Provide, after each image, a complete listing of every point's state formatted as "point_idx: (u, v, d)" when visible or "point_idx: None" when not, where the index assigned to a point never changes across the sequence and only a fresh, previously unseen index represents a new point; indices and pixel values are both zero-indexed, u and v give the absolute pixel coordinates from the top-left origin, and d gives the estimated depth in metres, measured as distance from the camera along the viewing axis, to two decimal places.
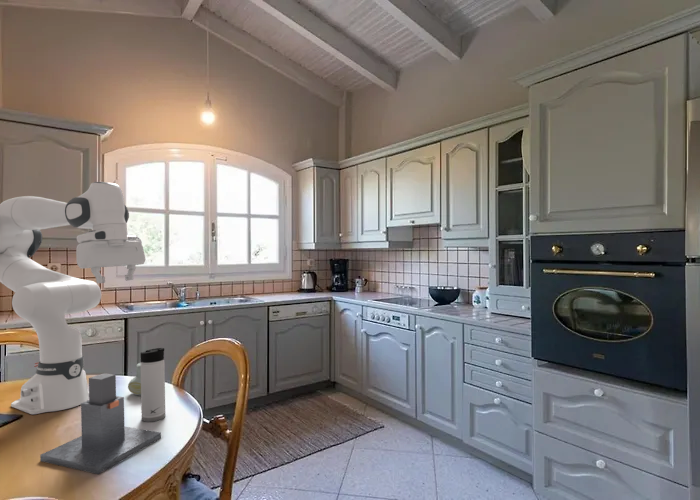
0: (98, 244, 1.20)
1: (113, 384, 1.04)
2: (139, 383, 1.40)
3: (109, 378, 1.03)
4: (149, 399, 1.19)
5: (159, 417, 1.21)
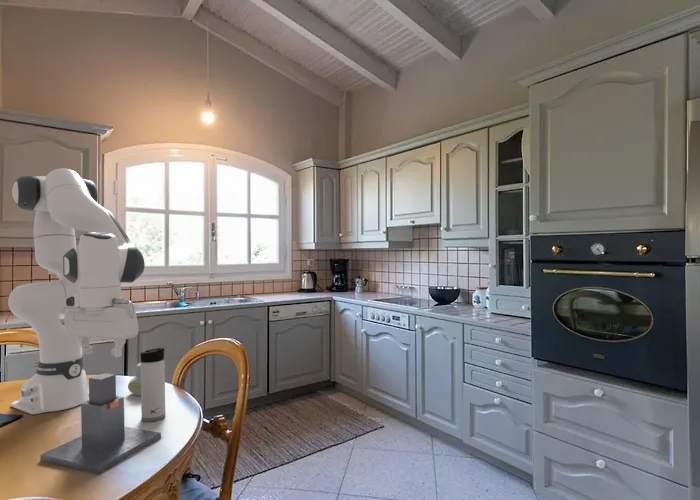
0: (73, 311, 1.03)
1: (113, 384, 1.04)
2: (139, 383, 1.40)
3: (109, 378, 1.03)
4: (149, 399, 1.19)
5: (159, 417, 1.21)
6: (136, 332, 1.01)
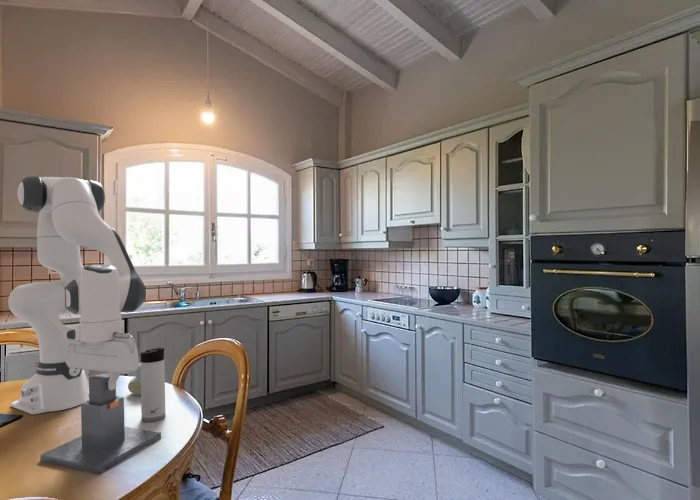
0: (73, 344, 1.03)
1: None
2: (139, 383, 1.40)
3: None
4: (149, 399, 1.19)
5: (159, 417, 1.21)
6: (137, 366, 1.01)
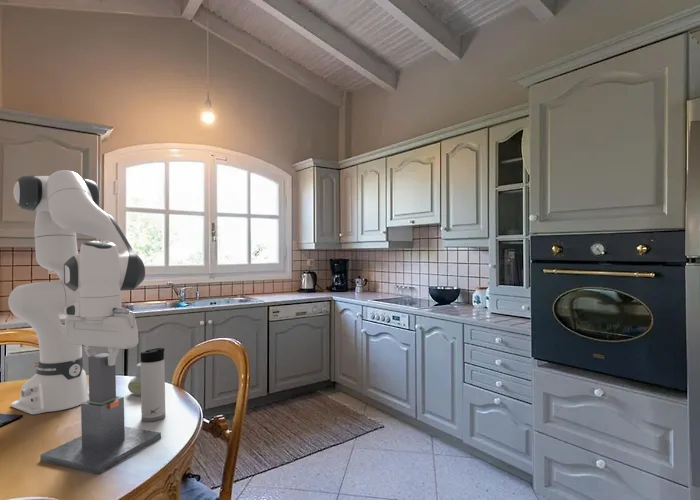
0: (73, 320, 1.03)
1: None
2: (139, 383, 1.40)
3: None
4: (149, 399, 1.19)
5: (159, 417, 1.21)
6: (136, 342, 1.01)
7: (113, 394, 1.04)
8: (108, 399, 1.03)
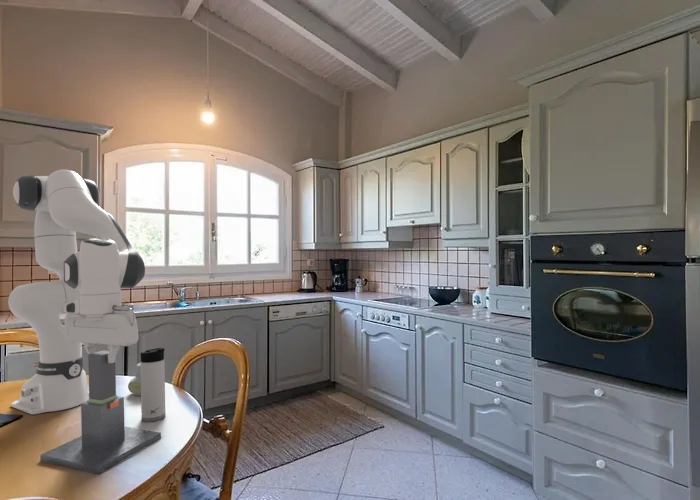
0: (73, 317, 1.03)
1: None
2: (139, 383, 1.40)
3: None
4: (149, 399, 1.19)
5: (159, 417, 1.21)
6: (136, 339, 1.01)
7: (113, 391, 1.04)
8: (108, 396, 1.03)
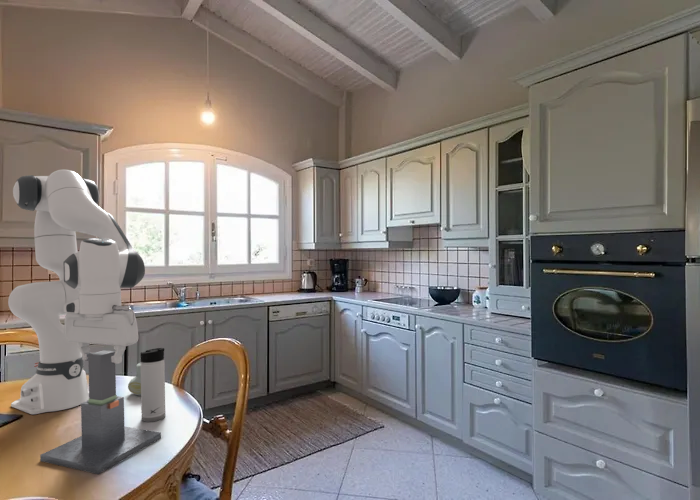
0: (73, 317, 1.03)
1: None
2: (139, 383, 1.40)
3: (108, 354, 1.03)
4: (149, 399, 1.19)
5: (159, 417, 1.21)
6: (136, 339, 1.01)
7: (113, 391, 1.04)
8: (108, 396, 1.03)
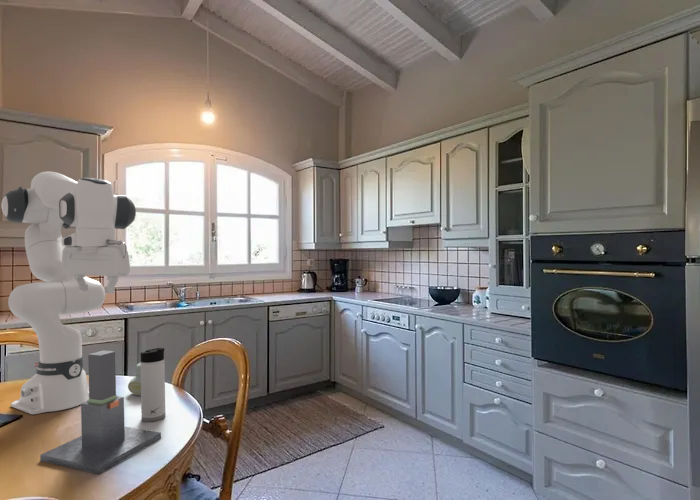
0: (70, 250, 1.12)
1: (113, 360, 1.04)
2: (139, 383, 1.40)
3: (108, 354, 1.03)
4: (149, 399, 1.19)
5: (159, 417, 1.21)
6: (128, 271, 1.10)
7: (113, 391, 1.04)
8: (108, 396, 1.03)
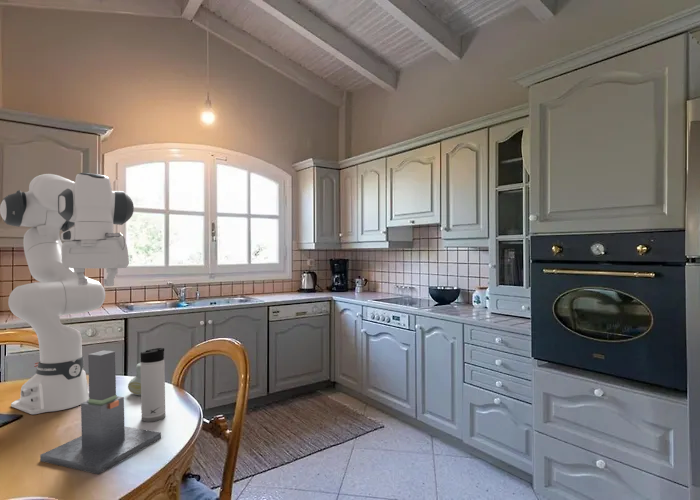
0: (69, 244, 1.13)
1: (113, 360, 1.04)
2: (139, 383, 1.40)
3: (108, 354, 1.03)
4: (149, 399, 1.19)
5: (159, 417, 1.21)
6: (127, 263, 1.11)
7: (113, 391, 1.04)
8: (108, 396, 1.03)
